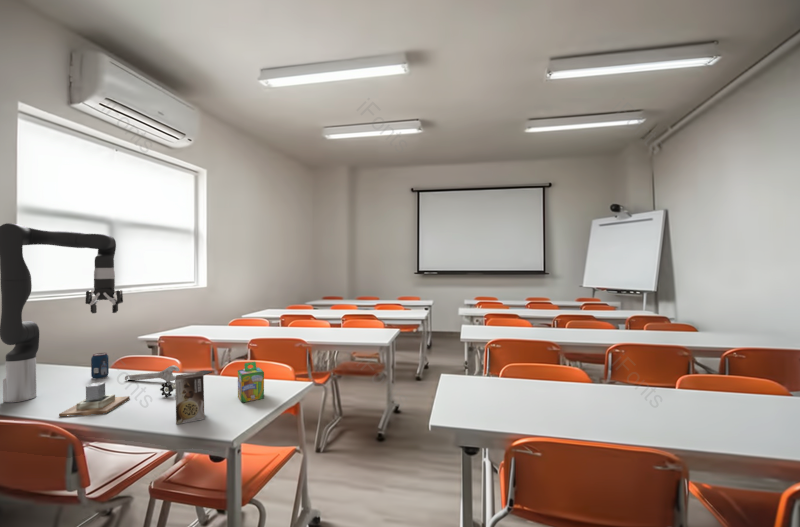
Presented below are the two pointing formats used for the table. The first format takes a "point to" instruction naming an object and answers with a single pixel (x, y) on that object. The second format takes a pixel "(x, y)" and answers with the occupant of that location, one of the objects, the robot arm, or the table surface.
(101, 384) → the block
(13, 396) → the robot arm
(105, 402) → the collar base
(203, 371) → the phone
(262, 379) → the chalk box
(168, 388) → the valve
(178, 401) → the printed cardboard box
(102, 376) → the soda can
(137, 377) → the wrench
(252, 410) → the table surface
